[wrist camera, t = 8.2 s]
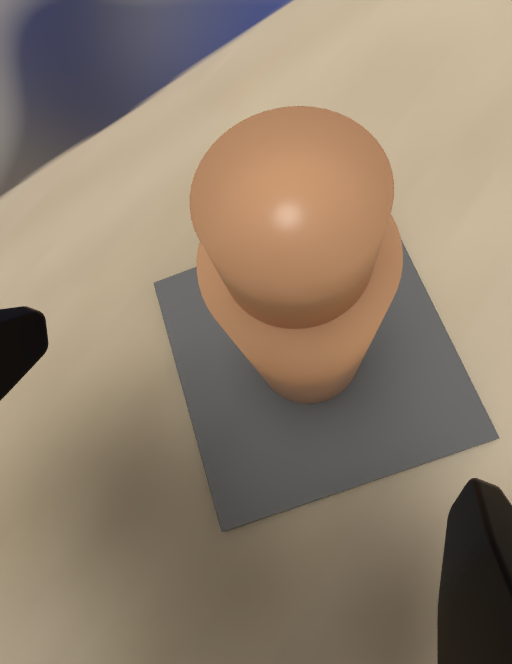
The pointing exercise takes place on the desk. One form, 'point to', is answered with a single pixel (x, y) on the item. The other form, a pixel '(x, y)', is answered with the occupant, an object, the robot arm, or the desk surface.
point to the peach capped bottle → (297, 245)
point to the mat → (320, 407)
